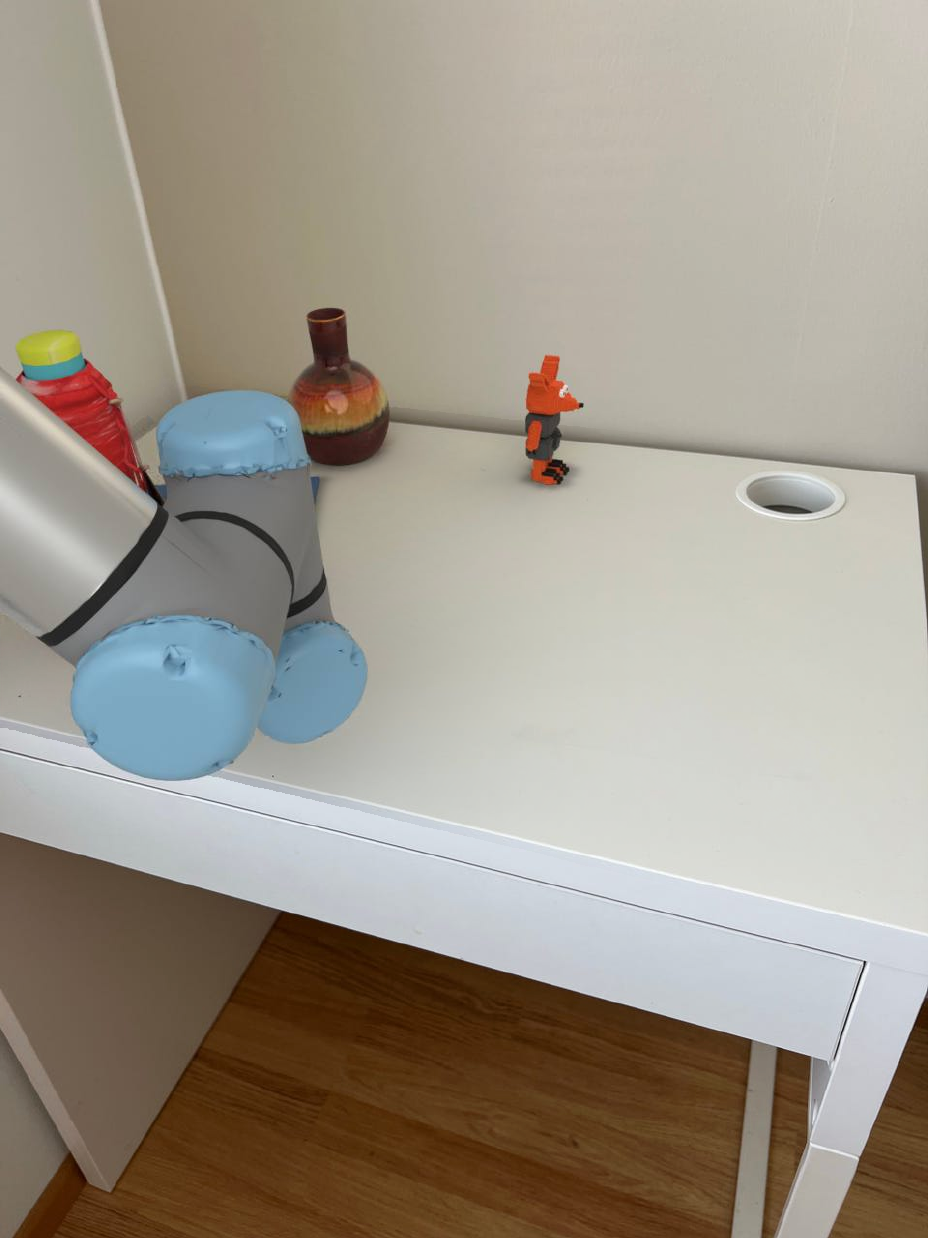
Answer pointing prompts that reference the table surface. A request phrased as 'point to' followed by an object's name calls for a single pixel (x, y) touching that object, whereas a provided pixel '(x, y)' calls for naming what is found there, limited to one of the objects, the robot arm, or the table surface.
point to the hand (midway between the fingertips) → (99, 473)
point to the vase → (338, 396)
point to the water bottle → (81, 400)
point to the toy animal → (546, 421)
